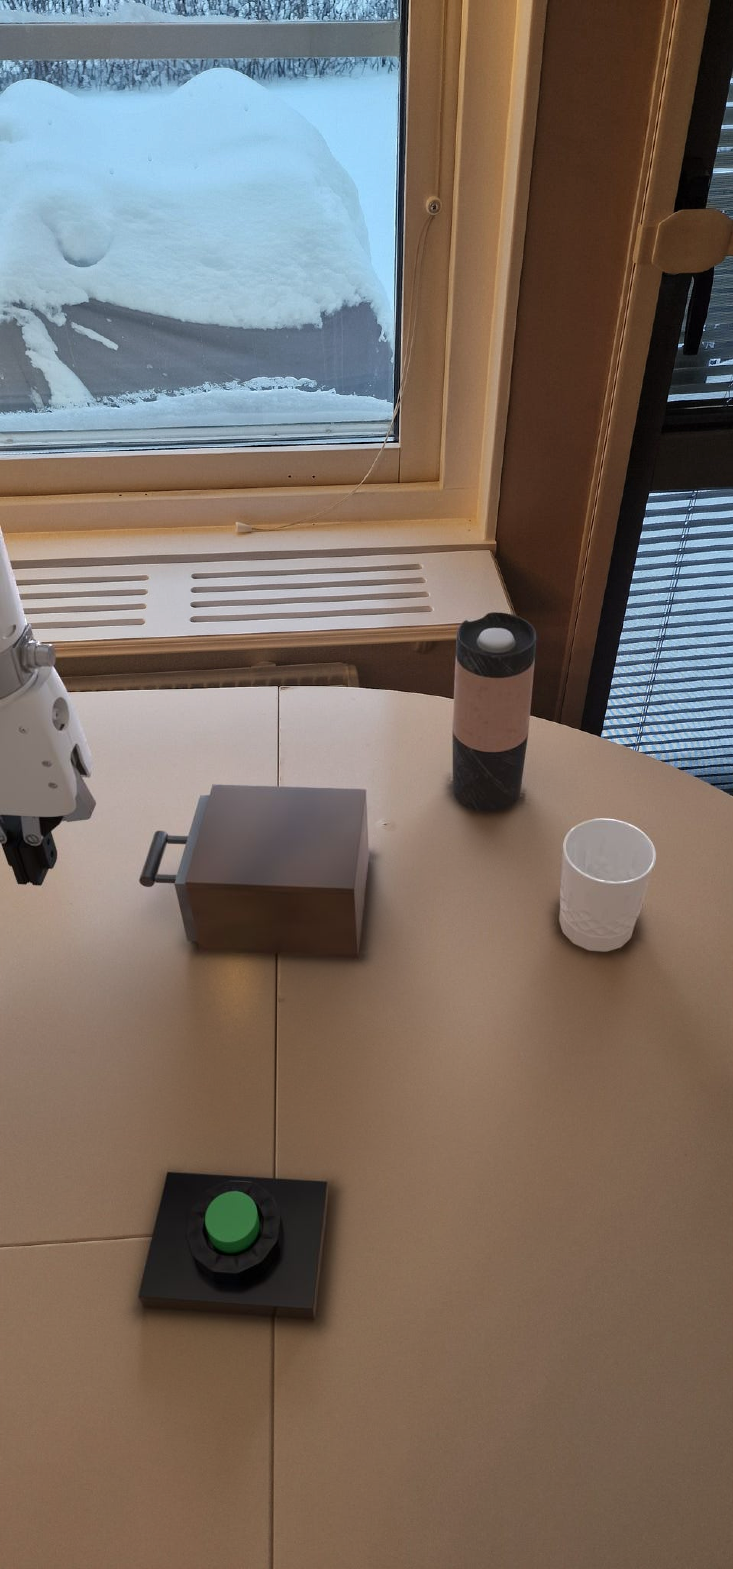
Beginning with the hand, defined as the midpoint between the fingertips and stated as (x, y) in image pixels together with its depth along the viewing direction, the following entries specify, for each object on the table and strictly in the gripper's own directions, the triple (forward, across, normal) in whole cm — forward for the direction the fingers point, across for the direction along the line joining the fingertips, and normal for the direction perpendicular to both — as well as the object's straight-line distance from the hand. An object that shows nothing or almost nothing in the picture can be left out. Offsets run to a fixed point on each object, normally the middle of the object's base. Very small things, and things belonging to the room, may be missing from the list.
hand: (36, 870), depth 73 cm
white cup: (+21, -43, -16) cm, 51 cm away
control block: (+21, -16, +16) cm, 31 cm away
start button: (+18, -16, +16) cm, 29 cm away
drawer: (+21, -10, -17) cm, 29 cm away
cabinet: (+22, -14, -17) cm, 31 cm away
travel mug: (+21, -33, -34) cm, 52 cm away
